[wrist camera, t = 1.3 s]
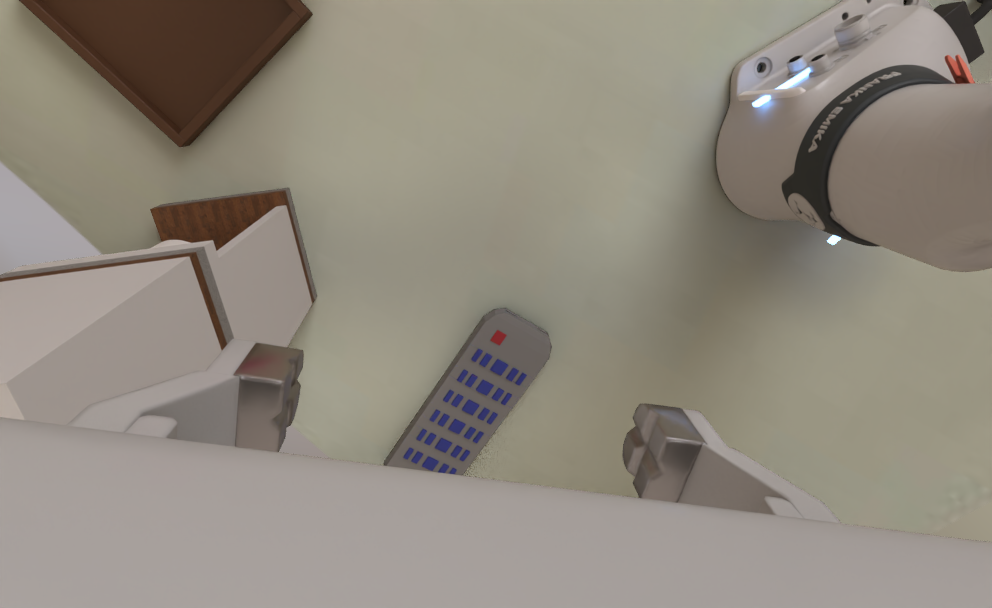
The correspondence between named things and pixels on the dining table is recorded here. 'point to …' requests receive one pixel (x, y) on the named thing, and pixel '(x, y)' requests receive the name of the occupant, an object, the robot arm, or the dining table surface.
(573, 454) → the dining table surface
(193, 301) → the two-tier shelf stand
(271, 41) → the serving tray
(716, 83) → the dining table surface
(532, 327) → the remote control
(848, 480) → the dining table surface
